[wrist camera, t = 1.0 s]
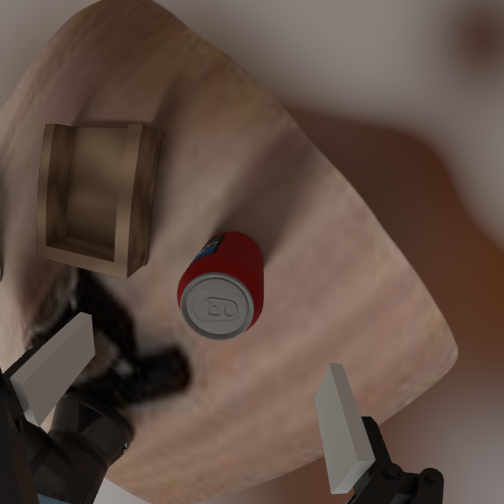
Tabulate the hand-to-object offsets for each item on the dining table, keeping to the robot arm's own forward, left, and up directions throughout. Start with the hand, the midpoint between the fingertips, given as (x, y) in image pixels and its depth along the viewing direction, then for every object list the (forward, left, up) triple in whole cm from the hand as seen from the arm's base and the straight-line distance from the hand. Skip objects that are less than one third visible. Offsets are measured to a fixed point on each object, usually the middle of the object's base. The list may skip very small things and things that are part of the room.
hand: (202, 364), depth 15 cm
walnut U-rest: (-11, +13, -18) cm, 25 cm away
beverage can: (0, 0, -19) cm, 19 cm away
